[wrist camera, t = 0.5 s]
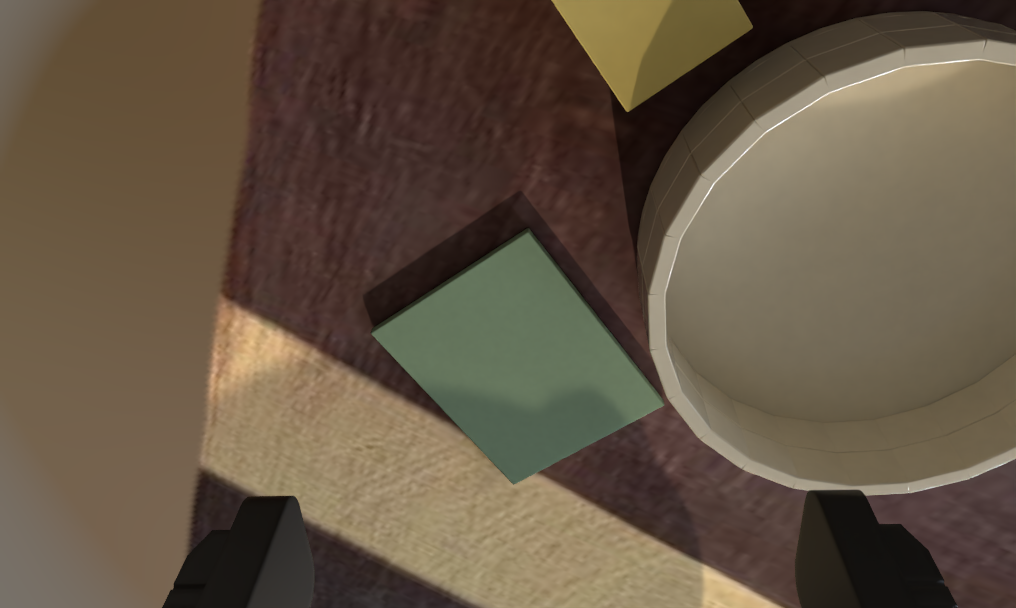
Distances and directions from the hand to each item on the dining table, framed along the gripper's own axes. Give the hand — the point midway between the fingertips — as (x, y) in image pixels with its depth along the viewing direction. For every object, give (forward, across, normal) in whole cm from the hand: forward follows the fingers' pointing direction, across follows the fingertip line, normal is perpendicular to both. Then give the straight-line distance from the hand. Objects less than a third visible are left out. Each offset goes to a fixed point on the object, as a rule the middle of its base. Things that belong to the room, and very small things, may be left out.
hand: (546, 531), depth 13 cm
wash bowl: (+20, -12, +5) cm, 23 cm away
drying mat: (+19, +1, +10) cm, 22 cm away
